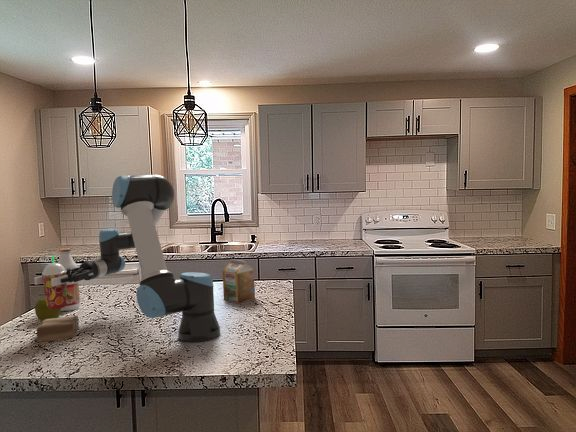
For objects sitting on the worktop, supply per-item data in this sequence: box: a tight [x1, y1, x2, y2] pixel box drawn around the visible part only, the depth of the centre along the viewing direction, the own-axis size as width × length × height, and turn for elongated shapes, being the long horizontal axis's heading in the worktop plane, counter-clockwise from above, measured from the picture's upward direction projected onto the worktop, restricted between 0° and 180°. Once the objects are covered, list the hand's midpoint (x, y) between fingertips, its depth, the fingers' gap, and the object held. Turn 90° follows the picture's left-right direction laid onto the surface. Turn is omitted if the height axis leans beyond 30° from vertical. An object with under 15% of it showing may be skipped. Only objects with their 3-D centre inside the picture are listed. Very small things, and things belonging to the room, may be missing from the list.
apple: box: [34, 297, 62, 322], centre depth 189 cm, size 10×10×11 cm
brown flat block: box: [36, 315, 80, 343], centre depth 170 cm, size 12×12×5 cm
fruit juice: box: [57, 247, 81, 312], centre depth 206 cm, size 9×9×28 cm
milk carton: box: [222, 258, 256, 304], centre depth 213 cm, size 11×11×19 cm
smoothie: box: [41, 255, 67, 310], centre depth 169 cm, size 8×8×20 cm
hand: (43, 281), depth 165 cm, fingers closed on smoothie, 8 cm apart
